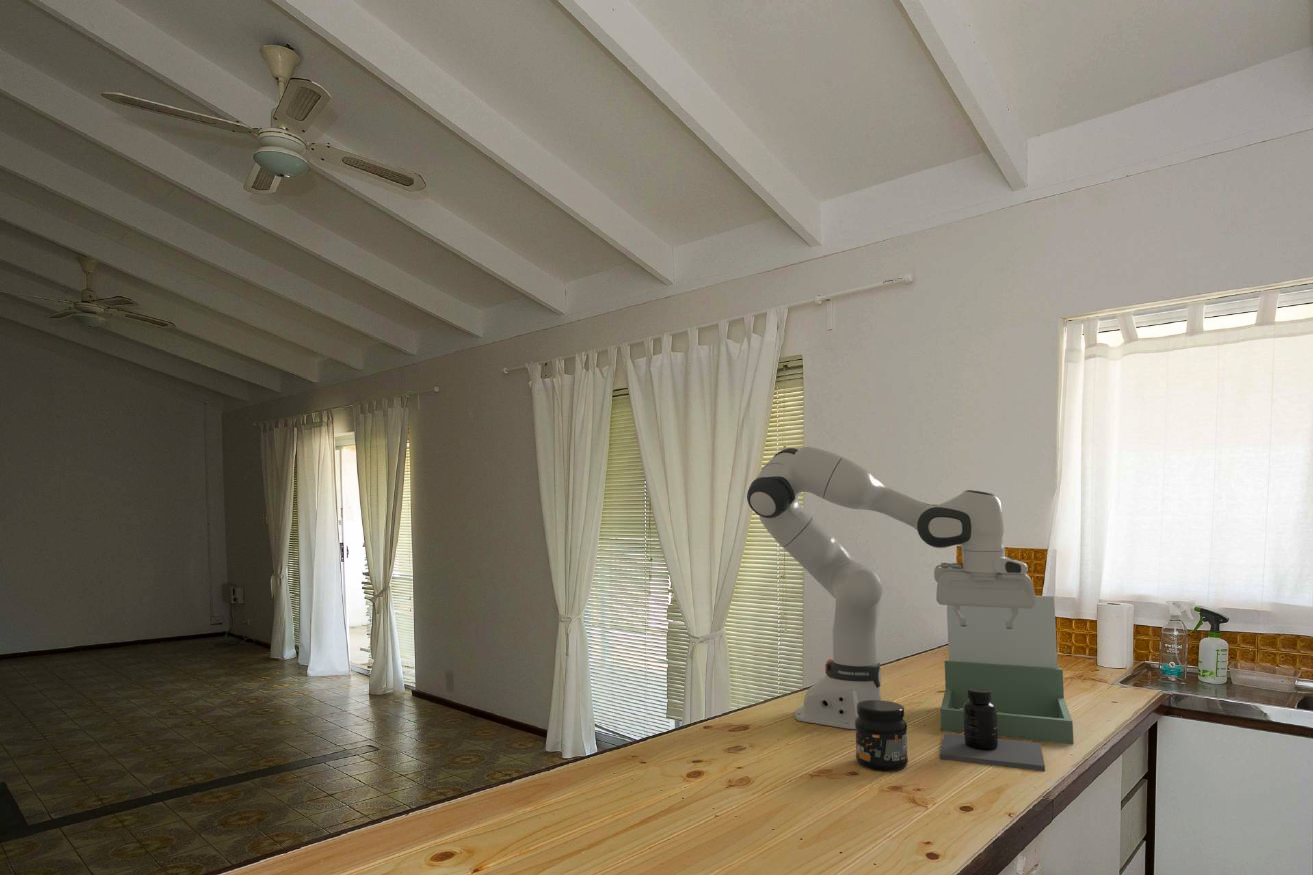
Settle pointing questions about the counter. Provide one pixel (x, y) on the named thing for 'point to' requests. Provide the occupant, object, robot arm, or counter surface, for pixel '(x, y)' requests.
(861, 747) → the supplement container
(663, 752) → the counter surface
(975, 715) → the supplement bottle
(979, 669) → the cold frame
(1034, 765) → the mat
